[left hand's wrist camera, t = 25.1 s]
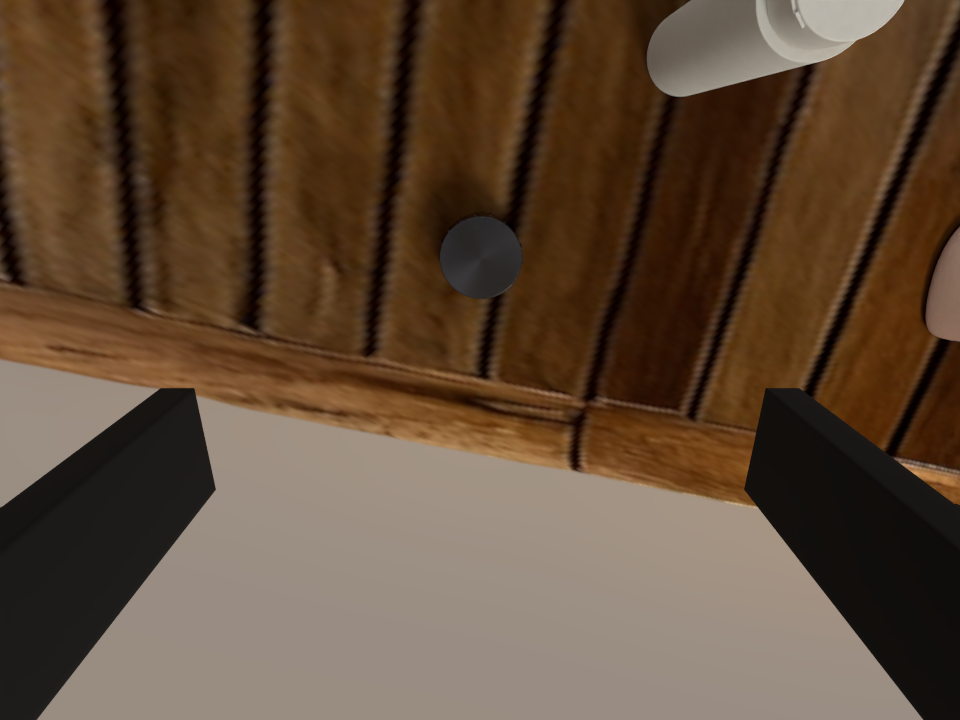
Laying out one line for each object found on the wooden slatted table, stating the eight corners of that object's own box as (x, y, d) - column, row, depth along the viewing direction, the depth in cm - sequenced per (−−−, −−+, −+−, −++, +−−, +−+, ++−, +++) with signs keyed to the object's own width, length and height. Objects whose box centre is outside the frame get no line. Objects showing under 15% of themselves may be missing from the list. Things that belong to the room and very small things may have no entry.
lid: (431, 277, 38) (428, 285, 36) (454, 200, 36) (452, 203, 34) (505, 301, 39) (506, 310, 37) (531, 226, 37) (535, 231, 35)
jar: (698, -11, 32) (894, -155, 17) (738, 59, 33) (954, -17, 18) (631, 48, 33) (758, -37, 18) (673, 113, 34) (825, 85, 19)
